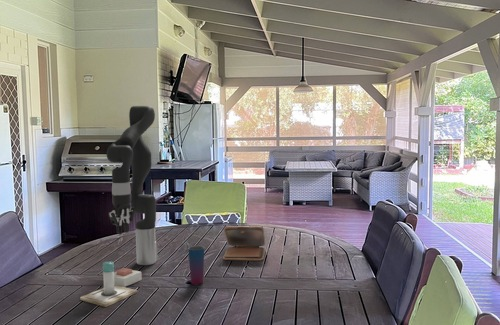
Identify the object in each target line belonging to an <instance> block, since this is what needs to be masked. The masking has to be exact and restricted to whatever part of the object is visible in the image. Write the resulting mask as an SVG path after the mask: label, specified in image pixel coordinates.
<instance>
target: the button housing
mask: <svg viewBox="0 0 500 325" xmlns="http://www.w3.org/2000/svg"><path fill="white" fill-rule="evenodd" d="M142 276H143V275H142V271H141V270H140V271H139V270H133V269H132V273H131V274H129V275H126V276H121V275H117V270H116V271H114V285H117V286H121V287H125V288H127V287H128V286H131V285H132V284H136V283H137V282H139V281H142Z"/></svg>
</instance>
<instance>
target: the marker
mask: <svg viewBox="0 0 500 325" xmlns="http://www.w3.org/2000/svg"><path fill="white" fill-rule="evenodd" d="M114 272H115V262H114V261H104V262H102V277H103V278H102V279H103V288H104V294H105V295H111V294H114V293H115V288H114Z"/></svg>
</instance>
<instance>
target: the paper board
mask: <svg viewBox="0 0 500 325" xmlns="http://www.w3.org/2000/svg"><path fill="white" fill-rule="evenodd" d="M114 288H115V293H114V294H111V295H105V294H104V287H102V288H100V289H97V290H94V291H92V292H90V293H88V294H85V295H82V296H80V297H79V298H80V301H83V302H86V303H90V304H94V305H96V306H101V307H105V308H107V307H109V306H111V305H114V304H116V303H118V302H120V301H122V300H124V299H126V298H129V297H130V296H133V295H135V294H137V293H138V290H137V289H132V288H130V287H122V286H118V285H114Z"/></svg>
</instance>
